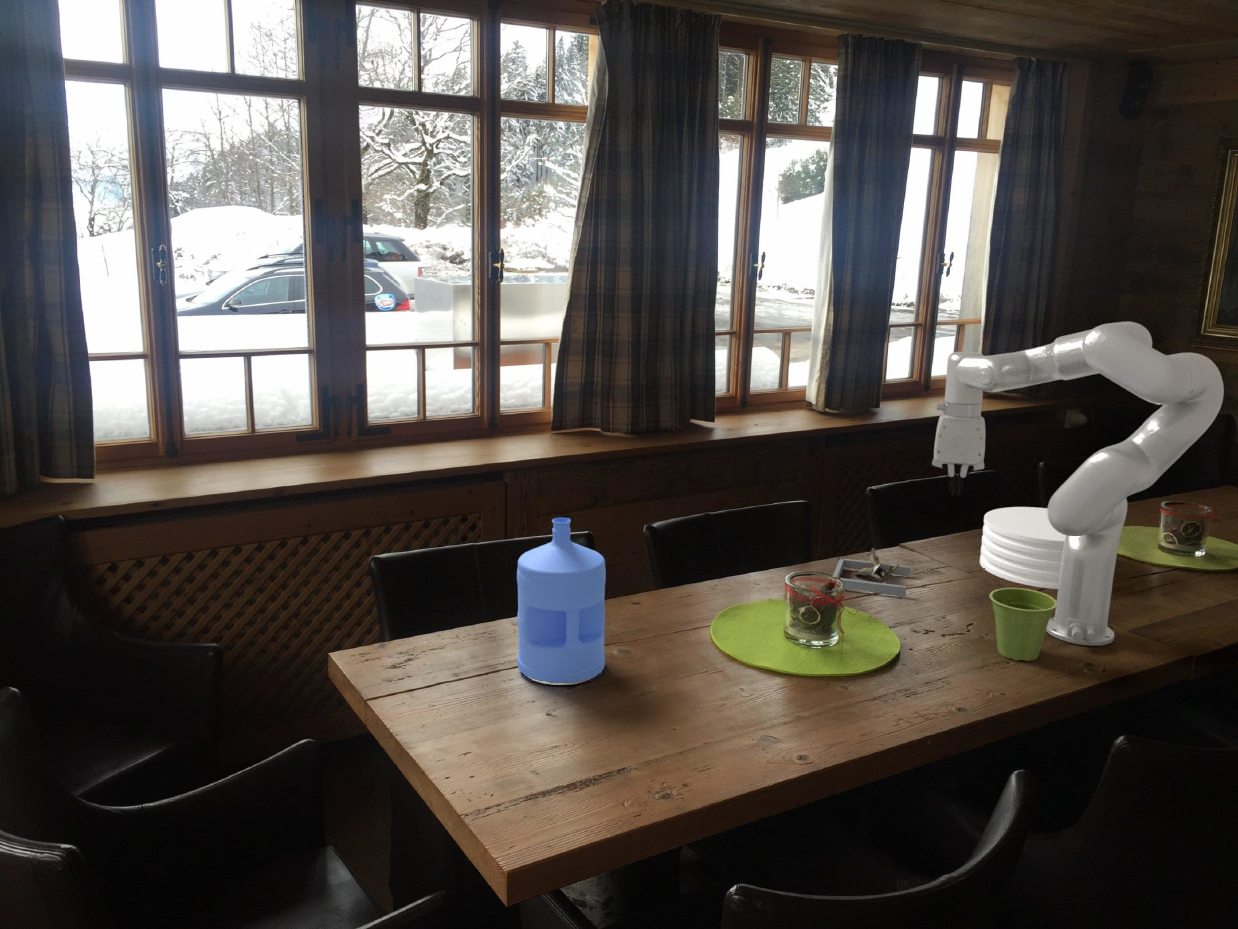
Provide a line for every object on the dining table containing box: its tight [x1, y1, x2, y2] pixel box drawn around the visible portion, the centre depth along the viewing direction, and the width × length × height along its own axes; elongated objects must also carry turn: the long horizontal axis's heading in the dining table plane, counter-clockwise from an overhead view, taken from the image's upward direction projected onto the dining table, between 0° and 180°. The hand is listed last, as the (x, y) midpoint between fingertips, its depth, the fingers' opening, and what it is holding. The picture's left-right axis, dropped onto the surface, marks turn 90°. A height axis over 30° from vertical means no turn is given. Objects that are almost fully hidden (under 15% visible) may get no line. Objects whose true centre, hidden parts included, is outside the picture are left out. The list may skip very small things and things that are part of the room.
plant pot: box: [989, 587, 1058, 662], centre depth 188 cm, size 12×12×11 cm
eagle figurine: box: [855, 547, 900, 583], centre depth 229 cm, size 8×7×9 cm
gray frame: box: [831, 557, 912, 598], centre depth 227 cm, size 15×16×2 cm
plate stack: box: [979, 506, 1066, 590], centre depth 237 cm, size 28×28×12 cm
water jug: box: [516, 517, 607, 683], centre depth 178 cm, size 16×16×28 cm
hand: (955, 493), depth 217 cm, fingers closed
